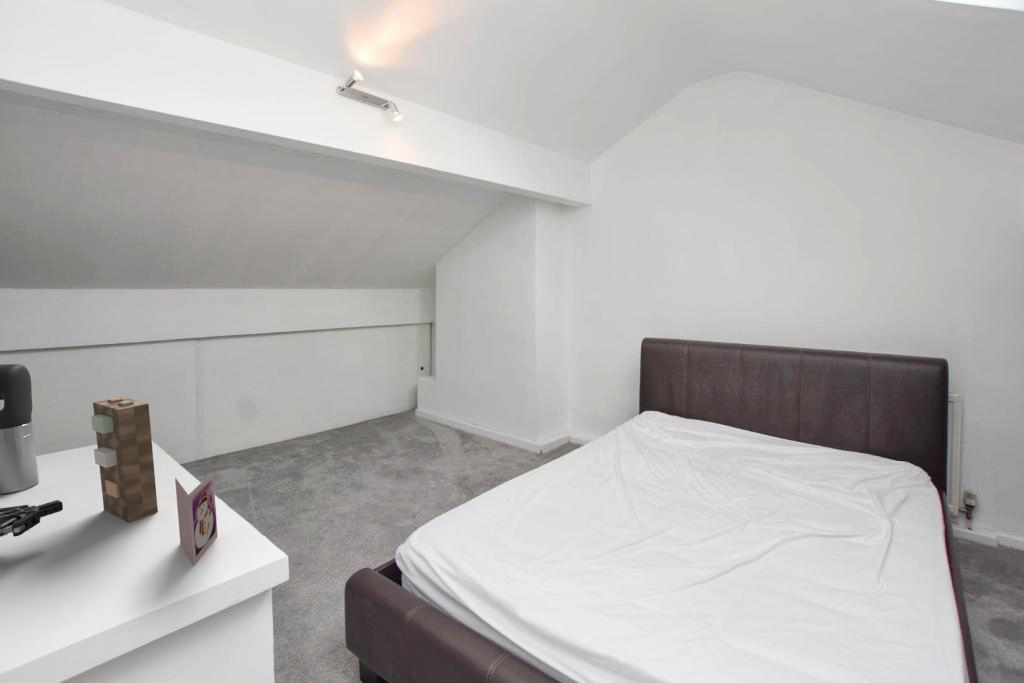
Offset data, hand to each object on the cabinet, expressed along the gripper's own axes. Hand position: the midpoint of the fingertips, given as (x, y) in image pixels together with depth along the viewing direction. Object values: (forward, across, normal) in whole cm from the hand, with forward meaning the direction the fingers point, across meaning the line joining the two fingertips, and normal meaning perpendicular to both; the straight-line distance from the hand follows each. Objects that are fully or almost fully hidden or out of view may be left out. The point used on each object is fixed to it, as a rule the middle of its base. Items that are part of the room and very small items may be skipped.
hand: (60, 504), depth 106 cm
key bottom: (+11, 0, +2) cm, 11 cm away
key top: (+9, 0, -14) cm, 17 cm away
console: (+13, 0, +7) cm, 15 cm away
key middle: (+9, 0, -6) cm, 11 cm away
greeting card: (+10, -30, +7) cm, 33 cm away
